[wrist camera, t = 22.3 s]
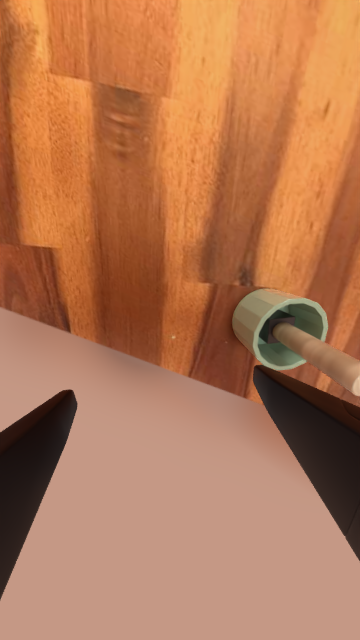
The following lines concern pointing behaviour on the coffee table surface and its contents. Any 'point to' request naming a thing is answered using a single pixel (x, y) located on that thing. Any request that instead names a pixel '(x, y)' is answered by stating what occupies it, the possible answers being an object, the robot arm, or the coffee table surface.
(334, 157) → the coffee table surface
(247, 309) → the light green cup
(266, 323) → the brush
